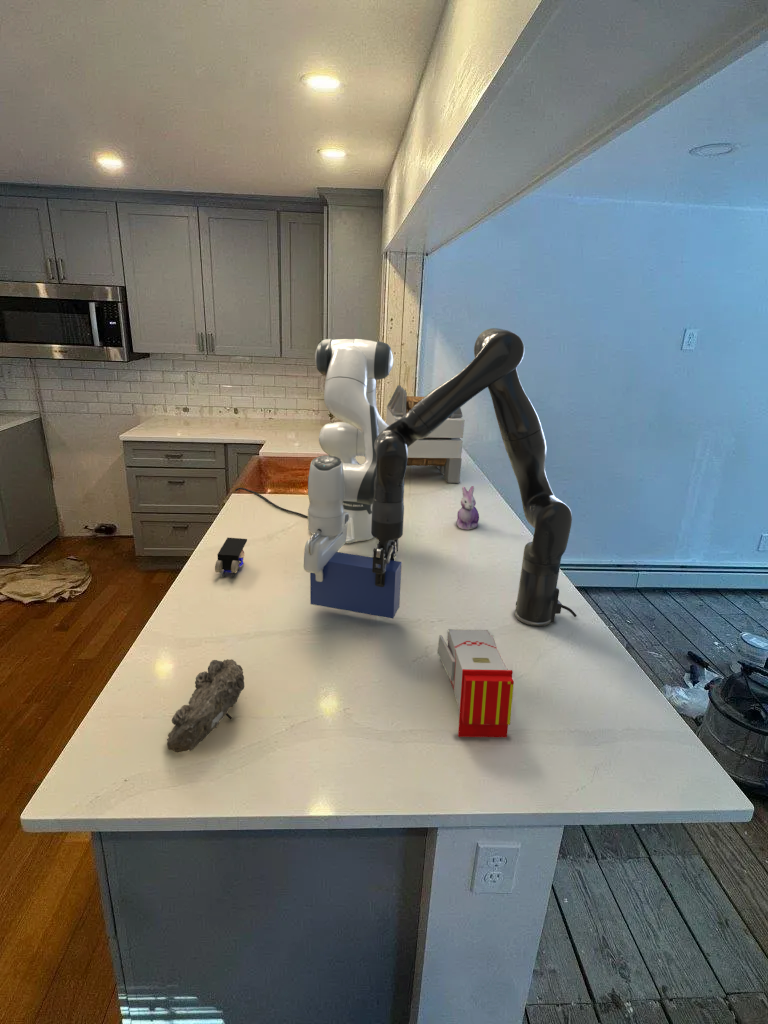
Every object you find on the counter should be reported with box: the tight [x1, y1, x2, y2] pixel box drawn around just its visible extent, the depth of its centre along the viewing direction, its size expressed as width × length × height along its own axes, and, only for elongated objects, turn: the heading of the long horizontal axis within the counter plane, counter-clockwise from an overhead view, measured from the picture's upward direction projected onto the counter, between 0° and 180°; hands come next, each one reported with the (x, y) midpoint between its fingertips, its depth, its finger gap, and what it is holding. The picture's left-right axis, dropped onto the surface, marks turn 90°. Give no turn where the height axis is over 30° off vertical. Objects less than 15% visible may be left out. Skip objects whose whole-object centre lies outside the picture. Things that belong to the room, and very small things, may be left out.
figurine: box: [456, 485, 480, 530], centre depth 208 cm, size 9×10×15 cm
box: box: [309, 551, 403, 620], centre depth 142 cm, size 22×6×13 cm, turn 75°
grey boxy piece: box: [385, 384, 465, 484], centre depth 268 cm, size 34×33×41 cm
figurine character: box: [214, 537, 248, 578], centre depth 166 cm, size 7×8×15 cm
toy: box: [437, 628, 515, 738], centre depth 117 cm, size 12×13×30 cm
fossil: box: [166, 658, 245, 754], centre depth 106 cm, size 22×10×15 cm
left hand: (325, 573), depth 143 cm, fingers closed on box, 6 cm apart
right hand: (384, 578), depth 139 cm, fingers open, 8 cm apart
